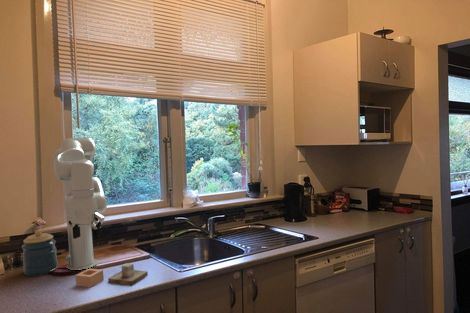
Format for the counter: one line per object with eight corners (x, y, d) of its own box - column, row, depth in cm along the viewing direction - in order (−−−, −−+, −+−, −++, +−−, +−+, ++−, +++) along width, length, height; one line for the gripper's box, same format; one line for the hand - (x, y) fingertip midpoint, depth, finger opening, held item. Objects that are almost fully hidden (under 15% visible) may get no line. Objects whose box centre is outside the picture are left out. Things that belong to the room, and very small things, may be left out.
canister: (63, 264, 164) (60, 225, 163) (49, 275, 151) (46, 233, 150) (33, 266, 164) (30, 227, 162) (17, 277, 151) (13, 235, 150)
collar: (76, 285, 140) (75, 275, 139) (89, 278, 146) (88, 268, 146) (90, 287, 137) (90, 276, 137) (103, 279, 144) (103, 269, 143)
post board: (108, 282, 141) (107, 268, 141) (124, 272, 150) (123, 259, 150) (132, 285, 137) (131, 270, 137) (147, 275, 146) (146, 261, 146)
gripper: (58, 195, 139) (61, 240, 140) (94, 195, 133) (98, 242, 134) (73, 192, 146) (76, 234, 147) (108, 192, 140) (111, 236, 141)
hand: (86, 238), depth 140 cm, fingers open, 9 cm apart
